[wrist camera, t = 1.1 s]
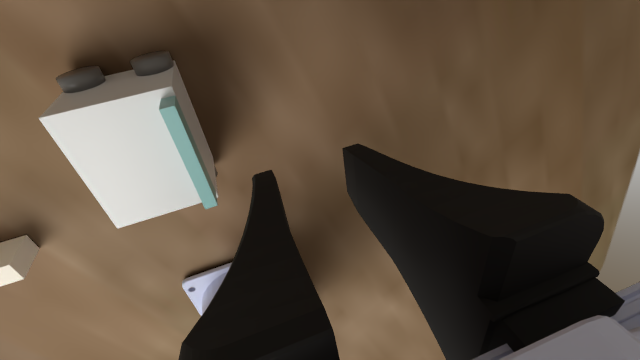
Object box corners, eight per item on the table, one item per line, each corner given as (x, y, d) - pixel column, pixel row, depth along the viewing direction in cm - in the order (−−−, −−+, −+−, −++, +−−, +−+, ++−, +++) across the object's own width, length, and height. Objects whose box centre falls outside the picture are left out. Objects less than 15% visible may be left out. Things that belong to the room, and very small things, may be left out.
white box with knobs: (216, 164, 21) (224, 220, 16) (134, 188, 20) (119, 253, 16) (169, 48, 17) (163, 80, 12) (63, 71, 16) (15, 116, 11)
